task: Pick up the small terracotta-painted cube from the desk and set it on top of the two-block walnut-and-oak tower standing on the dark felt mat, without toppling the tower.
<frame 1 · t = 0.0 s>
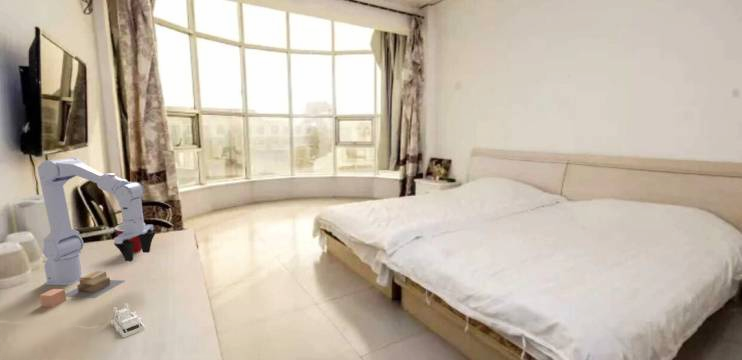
hand: (137, 256, 117), 10 cm above the table, tool pointing down, fingers open, 7 cm apart
tower base: (94, 288, 115), resting on mat, touching tower middle
cube: (54, 304, 105), on the table
mat: (94, 288, 115), on the table
toy car: (128, 326, 94), on the table
plastic cup: (133, 251, 148), on the table
tower middle: (93, 281, 114), point 3 cm above the table, touching tower base
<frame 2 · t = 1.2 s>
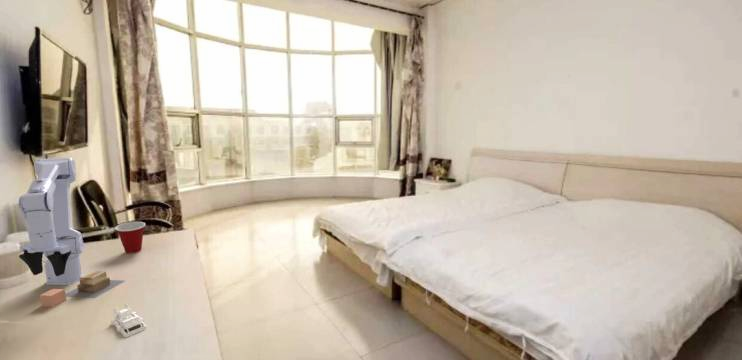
hand: (49, 274, 104), 10 cm above the table, tool pointing down, fingers open, 7 cm apart
nothing on the table moved.
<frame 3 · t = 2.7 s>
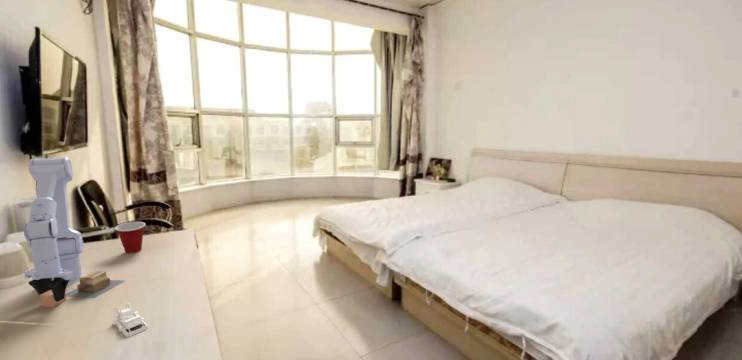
hand: (53, 299, 105), 1 cm above the table, tool pointing down, fingers closed on cube, 4 cm apart
cube: (54, 303, 105), on the table, touching gripper
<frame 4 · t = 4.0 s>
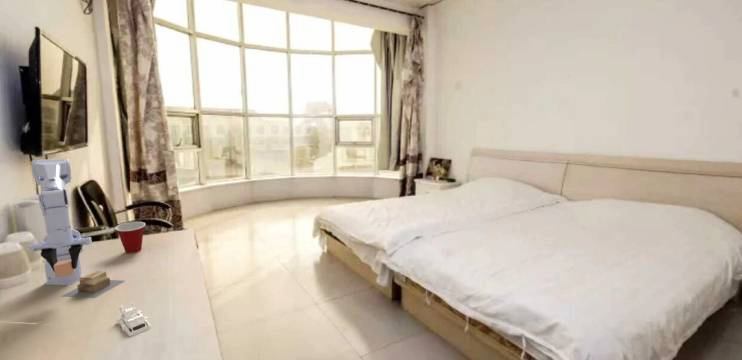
hand: (65, 269, 107), 10 cm above the table, tool pointing down, fingers closed on cube, 4 cm apart
cube: (66, 273, 107), point 8 cm above the table, touching gripper
when the fingers open (8 cm above the table, at t = 5.3 s): cube stays where it is, resting on tower middle.
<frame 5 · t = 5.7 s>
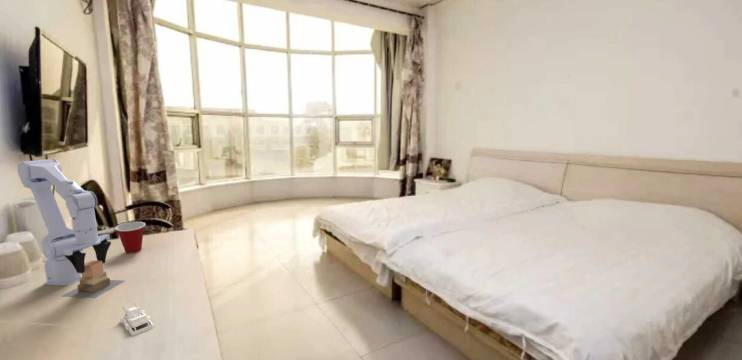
hand: (91, 267, 113), 8 cm above the table, tool pointing down, fingers open, 7 cm apart
cube: (93, 274, 114), point 5 cm above the table, touching tower middle
tower middle: (93, 281, 114), point 3 cm above the table, touching cube, tower base
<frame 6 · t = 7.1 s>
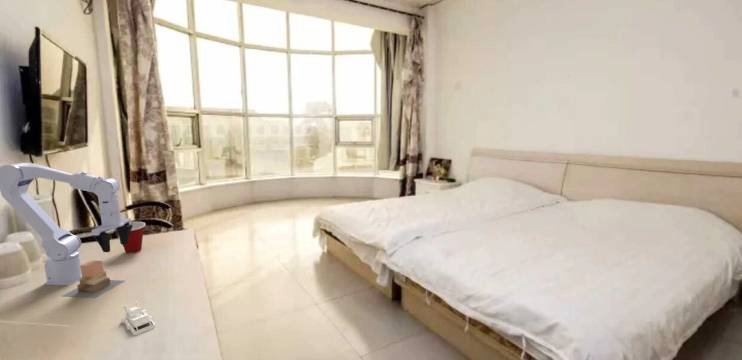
hand: (115, 247, 124), 10 cm above the table, tool pointing down, fingers open, 7 cm apart
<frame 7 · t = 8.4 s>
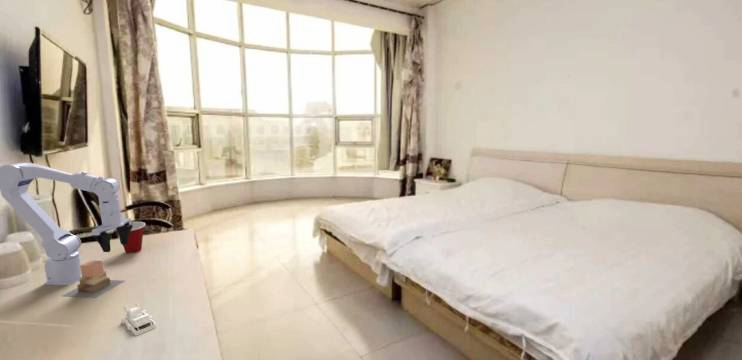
hand: (115, 247, 124), 10 cm above the table, tool pointing down, fingers open, 7 cm apart
at the end: cube 0.2 cm off-centre on the tower middle, point 2.5 cm above the tower middle's base; cube tilted 0°; tower middle moved 0.0 cm from its start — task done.
